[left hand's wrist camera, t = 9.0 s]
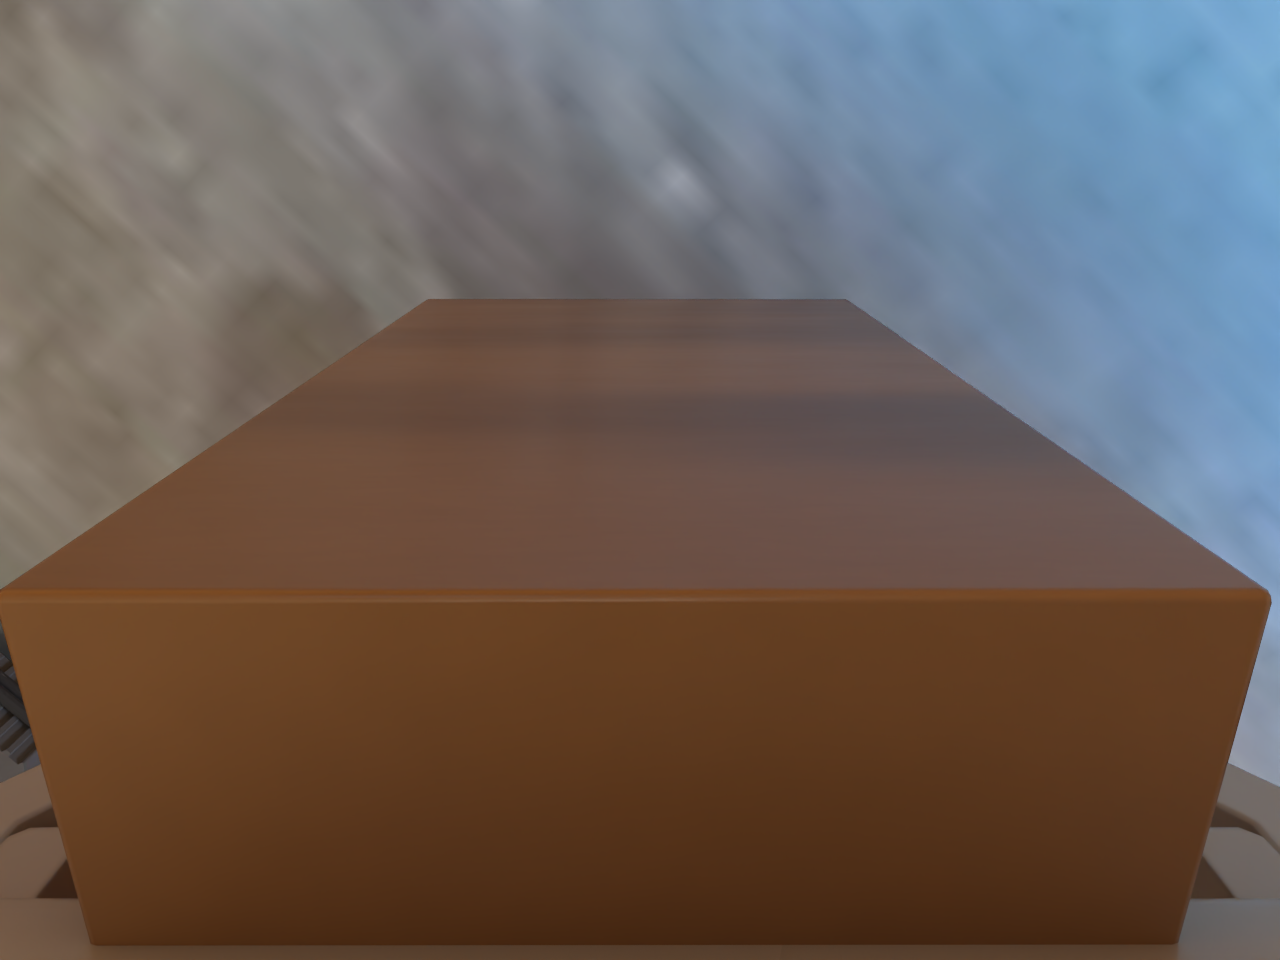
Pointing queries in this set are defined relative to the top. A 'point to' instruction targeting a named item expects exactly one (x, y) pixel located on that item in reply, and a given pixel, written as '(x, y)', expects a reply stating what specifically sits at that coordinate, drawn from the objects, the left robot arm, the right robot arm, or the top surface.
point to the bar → (634, 654)
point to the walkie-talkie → (14, 726)
